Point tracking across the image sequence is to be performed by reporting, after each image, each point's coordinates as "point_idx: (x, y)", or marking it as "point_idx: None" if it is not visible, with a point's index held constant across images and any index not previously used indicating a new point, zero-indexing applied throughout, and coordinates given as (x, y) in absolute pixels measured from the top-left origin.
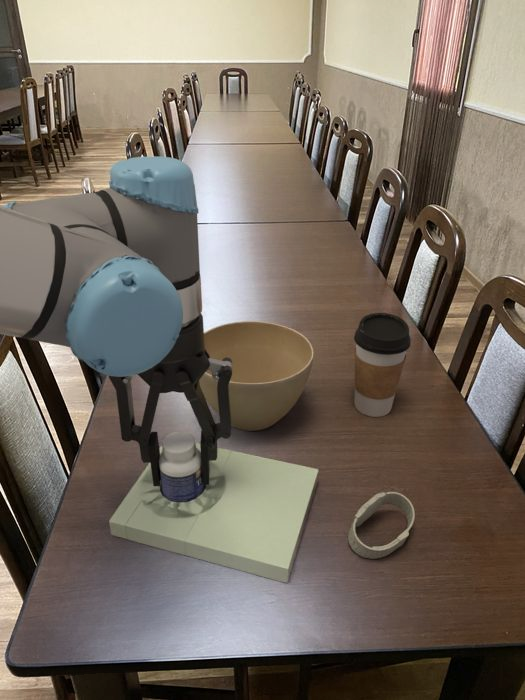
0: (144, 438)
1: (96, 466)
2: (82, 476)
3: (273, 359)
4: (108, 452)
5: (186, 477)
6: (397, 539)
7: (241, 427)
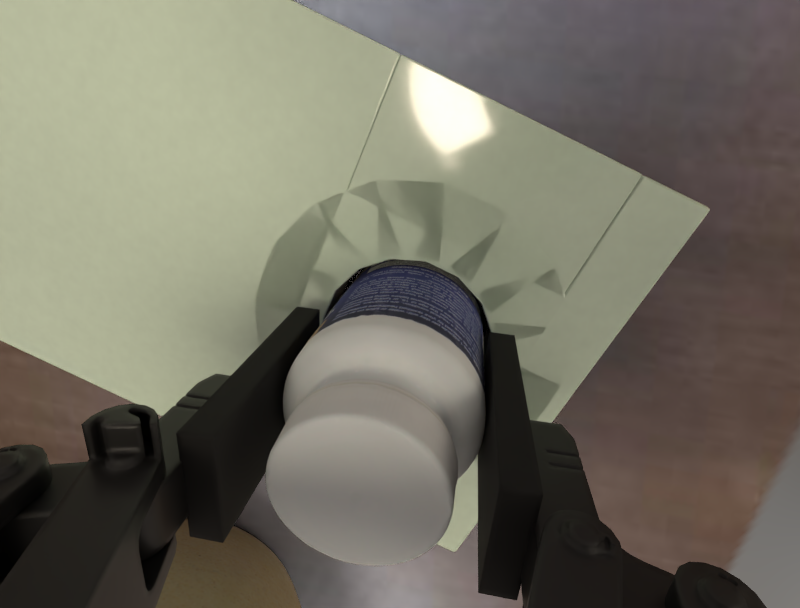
0: (574, 561)
1: (697, 494)
2: (751, 465)
3: None
4: (650, 538)
5: (358, 313)
6: None
7: (230, 536)
